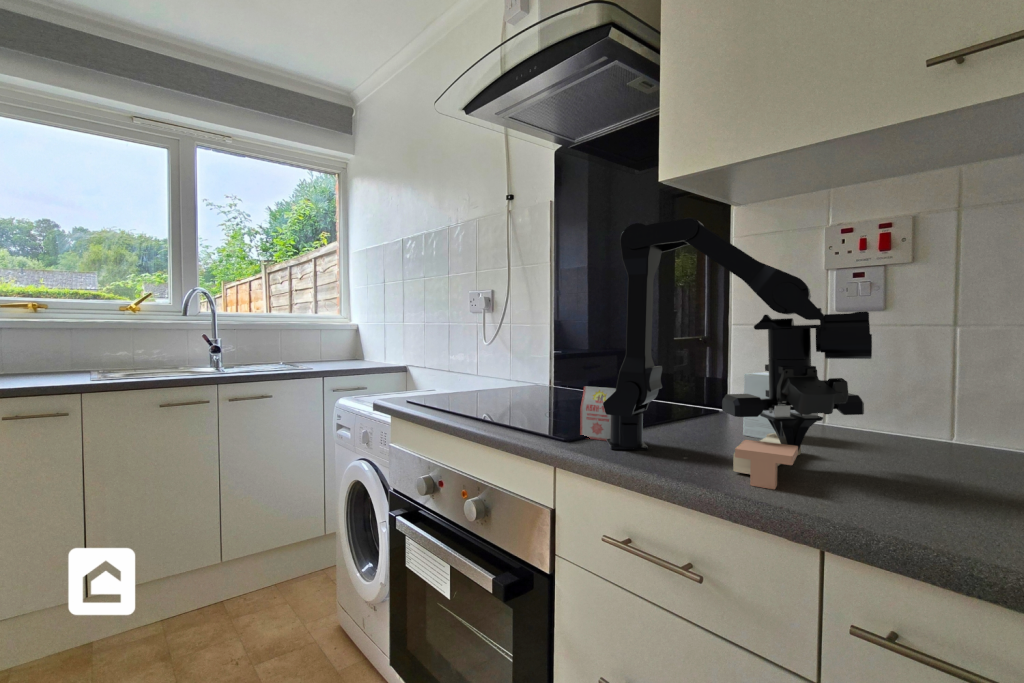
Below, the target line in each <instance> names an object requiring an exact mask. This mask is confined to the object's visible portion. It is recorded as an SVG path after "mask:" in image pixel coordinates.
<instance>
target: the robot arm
mask: <svg viewBox="0 0 1024 683" xmlns="http://www.w3.org/2000/svg"><path fill="white" fill-rule="evenodd" d="M619 244H620V246H619V247H620V253H621V259H622V262H623V266H624V269H625V272H626V274H627V297H626V298H627V300H626V331H625V332H626V333H625V356H624V359H623V362H622V364H621V366H620V369H619V372H618V376H617V380H616V386H615V388H616V391H615V392H614V393H613V394H612V395H611V396H610V397H609V398H608V399H607V400H606V401H605V402H604V403H603V406H604V409H605V412H606V414H607V415H611V439H607V441H606V443H607V445H608V447H609V448H610V449H611V450H635V451H636V450H637V451H638V450H639V451H642V450H643V451H644V450H649V449H648V448H649V447H648V445H647V444H646V443H645V441H644V440H643V439H644V438H643V436H644V435H643V434H644V432H643V430H644V426H643V423H644V420H643V419H644V412H645V411H647V409H648V407H649V405H650V403H651V402H652V401H653V400H655V399H656V398H657V397H658V394H659V391H660V389H662V388H663V384H662V379H661V378H662V373H663V365H657V366H656V365H655V363H654V360H653V355H652V347H653V346H652V340H653V314H654V312H653V311H654V310H653V308H654V306H653V305H654V279H655V274H656V273H657V271H658V270H657V269H658V268H659V265H660V262H661V257H662V253H665V252H670V251H673V250H676V249H679V248H682V247H686V246H689V245H691V246H692V247H693V248H694V249H696V250H697V251H699V252H701V253H702V254H704V255H705V256H707V257H708V258H709V259H711V260H712V261H714V262H715V263H716V264H718V265H720V266H721V267H723V268H724V269H726V270H727V271H729V272H730V273H732V274H734V275H735V276H736V277H738V278H740V280H742V281H743V283H745V284H746V285H747V286H748V287H749V288H750V289H751V290H752V292H754V294H756V296H758V297H759V298H760V299H761V300H762V302H764V303H765V304H766V305H767V306H768V307H769V308H770V309H771V310H772V311H773V312H776V313H779V314H781V315H786V316H787V315H788V316H790V315H797V316H799V317H801V318H803V319H805V320H808V321H819V324H800V325H799V324H798V325H797V324H795V322H794V318H788V317H787V318H772V317H771V316H770V315H769V314H764V315H763V316H762V317H761V319H760V320H759V322H757V323H755V324H754V325H753V329H754V330H758V331H759V330H761V331H763V330H767V343H768V344H767V345H768V346H767V348H768V349H767V350H768V363H767V364H764V370H765V372H768V373H769V390H766V397H769V398H767V399H760V397H757V396H754V395H750V394H744V393H727V394H725V395H724V397H723V398H722V401H721V407H722V408H721V409H722V412H724V413H726V414H728V415H731V416H733V417H737V418H743V417H758V416H759V415H760V416H762V417H765V418H767V419H768V421H769V422H770V424H771V425H772V427H773V429H774V430H775V432H776V434H777V436H778V438H779V440H780V443H781V444H786V445H795V446H798V451H799V449H800V446H801V447H802V444H803V441H804V438H805V436H806V435H807V433H808V431H809V429H810V428H811V427H812V426H813V425H814V424H815V423H817V422H822V421H823V419H824V417H823V416H820V415H819V414H824V415H831V414H832V415H833V412H834V410H837V411H838V412H839V413H840V414H841V415H843V416H858V415H862V416H863V415H864V414H865V402H864V401H863V399H862V397H861V396H860V395H858V394H854V393H849V386H848V385H849V383H848V381H847V380H846V379H845V378H842V377H835V378H834V377H833V378H832V377H830V378H828V379H824V380H823V379H822V380H821V379H819V376H818V370H817V366H816V365H812V339H811V337H812V335H811V334H812V333H811V332H812V331H811V329H815V351H816V353H821V354H822V353H824V359H825V360H827V359H828V360H830V359H831V360H833V359H834V360H835V359H836V360H837V359H838V360H871V359H872V353H873V335H872V333H871V330H870V329H871V328H870V313H869V311H854V312H851V313H828V314H827V313H826V314H824V313H823V312H822V311H823V309H822V308H821V307H817V306H816V304H814V302H813V301H811V298H812V295H811V290H810V288H809V285H807V284H806V282H804V280H802V279H801V278H800V277H798V276H795V275H793V274H790V273H788V272H785V271H783V270H782V269H779V268H775V267H773V266H771V265H768V264H765V263H763V262H761V261H759V260H757V259H755V258H754V257H752V255H749V254H748V253H746V252H745V251H743V250H742V249H740V248H739V247H737V246H736V245H734V244H733V243H731V242H729V241H728V240H726V239H725V238H723V237H721V236H720V235H719V234H716V233H715V232H714V231H712V229H711V230H710V229H709V228H707V227H706V226H704V224H703V223H702V222H701V221H699V220H698V219H697V218H695V217H692V216H691V217H685V218H683V219H677V220H671V221H665V222H664V221H663V222H655V223H650V224H644V223H641V222H636V223H632V224H630V225H628V226H627V227H626V228H625V229H624V230H623V231H622V232H621V234H620V237H619ZM790 410H791V412H790ZM763 411H764V412H763Z"/></svg>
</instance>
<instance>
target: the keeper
mask: <svg viewBox="0 0 1024 683" xmlns="http://www.w3.org/2000/svg"><path fill="white" fill-rule="evenodd" d="M734 453H735V457H737V458H744V459H751V472H750V474H749V475H750V476H749V477H750V480H749V482H750V484H749V485H750V486H752V487H757V488H764V489H769V490H775V489H776V488H777V486H778V466H777V463H779V464H780V465H785V466H786V465H787V466H793V464H795V461H796V459H797V457H798V456H799V455H798V446H795V445H786V444H778V443H770V442H761V441H760V440H751V439H743V440H742V441H741V443H740V444H739V445H738V446H736V447H735V448H734Z"/></svg>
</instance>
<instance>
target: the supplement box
mask: <svg viewBox="0 0 1024 683" xmlns="http://www.w3.org/2000/svg"><path fill="white" fill-rule="evenodd" d="M743 379H744V380H743V382H744V383H743V394H750V395H754V396H757V397H760V399H767V398H769V397H766V390H769V371H765V372H763V371H762V372H750V373H749V372H748V373H744V374H743ZM763 412H764V411H763ZM790 412H791V410H790ZM742 421H743V422H742V424H743V425H742V426H743V427H742V430H743V431H742V436H745V437H751V438H755V439H760V440H762V439H764V438H766V437H767V434H771V433H776V432H775V430H774V429H773V427H772V425H771V424H770V422H769V421H768V419H767V418H765V417H762V416H760V415H759V416H758V417H742Z"/></svg>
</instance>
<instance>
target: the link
mask: <svg viewBox="0 0 1024 683" xmlns="http://www.w3.org/2000/svg"><path fill="white" fill-rule="evenodd" d="M759 441H761V442H770V443H778V444H781V443H780V440H779V438H778V436H777V434H776V433H771V434H767V437H766V438H764V439H760V440H759ZM801 452H802V445H801V446H800V449H799V451H798V455H797V456H799V455H801V454H802V453H801ZM732 458H733V464H732V465H733V472H736V473H741V474H747V475H750V472H751V459H744V458H737V457H735V452H734V453H733V457H732ZM779 466H781V464H779V463H777V467H779Z"/></svg>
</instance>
